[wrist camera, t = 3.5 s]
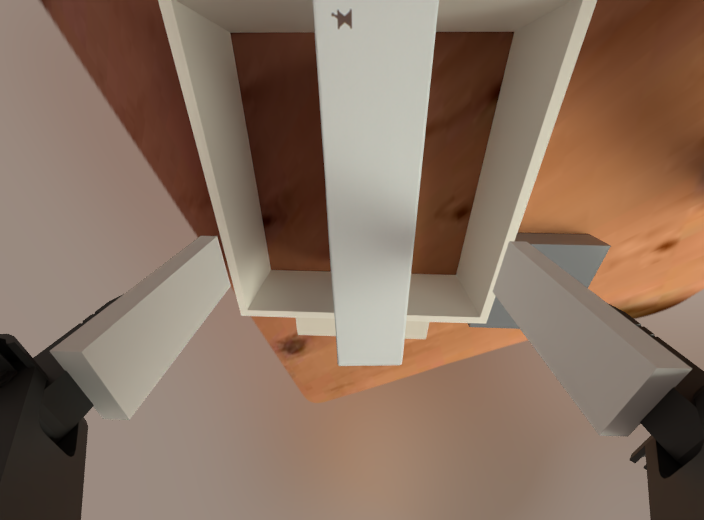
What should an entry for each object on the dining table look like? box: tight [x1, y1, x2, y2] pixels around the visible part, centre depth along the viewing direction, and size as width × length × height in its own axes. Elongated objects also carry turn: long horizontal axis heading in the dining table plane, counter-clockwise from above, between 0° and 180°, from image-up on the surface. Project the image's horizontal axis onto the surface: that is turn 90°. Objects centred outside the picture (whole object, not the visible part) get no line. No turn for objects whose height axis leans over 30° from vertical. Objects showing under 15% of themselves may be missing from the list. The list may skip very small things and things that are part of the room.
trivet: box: [468, 233, 611, 329], centre depth 32 cm, size 12×12×3 cm
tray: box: [158, 0, 597, 339], centre depth 25 cm, size 31×26×8 cm
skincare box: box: [312, 0, 439, 366], centre depth 21 cm, size 21×6×16 cm, turn 1°
